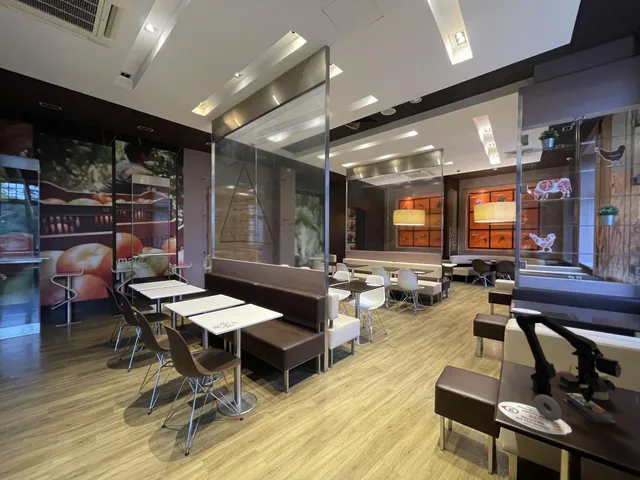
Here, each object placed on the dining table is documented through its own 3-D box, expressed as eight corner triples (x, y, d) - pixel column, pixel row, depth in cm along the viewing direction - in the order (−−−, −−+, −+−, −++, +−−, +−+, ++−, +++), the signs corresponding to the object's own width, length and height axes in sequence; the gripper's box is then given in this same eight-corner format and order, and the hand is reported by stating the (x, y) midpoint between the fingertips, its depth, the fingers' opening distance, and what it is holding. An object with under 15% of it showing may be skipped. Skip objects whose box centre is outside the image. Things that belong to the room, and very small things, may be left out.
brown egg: (597, 418, 114) (596, 410, 114) (589, 413, 117) (589, 405, 117) (606, 419, 113) (606, 411, 113) (598, 414, 117) (598, 406, 117)
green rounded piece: (586, 411, 119) (586, 403, 119) (579, 406, 122) (579, 399, 122) (595, 412, 118) (595, 404, 118) (588, 407, 122) (588, 399, 122)
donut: (532, 413, 120) (531, 390, 120) (536, 411, 121) (536, 389, 121) (559, 427, 110) (558, 403, 111) (564, 424, 112) (563, 401, 112)
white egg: (577, 404, 123) (577, 397, 124) (571, 400, 127) (570, 392, 127) (585, 405, 123) (585, 397, 123) (579, 400, 127) (579, 393, 127)
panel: (592, 422, 113) (592, 413, 113) (563, 400, 128) (562, 393, 129) (616, 424, 112) (615, 415, 112) (583, 401, 127) (583, 394, 127)
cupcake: (572, 382, 145) (572, 360, 145) (582, 390, 136) (581, 367, 137) (553, 380, 147) (552, 358, 147) (561, 388, 139) (560, 365, 139)
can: (614, 400, 128) (613, 375, 129) (595, 400, 129) (594, 375, 129) (595, 389, 138) (594, 366, 138) (577, 389, 138) (576, 366, 138)
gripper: (579, 375, 113) (579, 411, 113) (627, 377, 111) (628, 414, 111) (558, 363, 125) (559, 396, 124) (602, 365, 122) (603, 398, 122)
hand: (587, 401), depth 120 cm, fingers closed, pressing on green rounded piece
